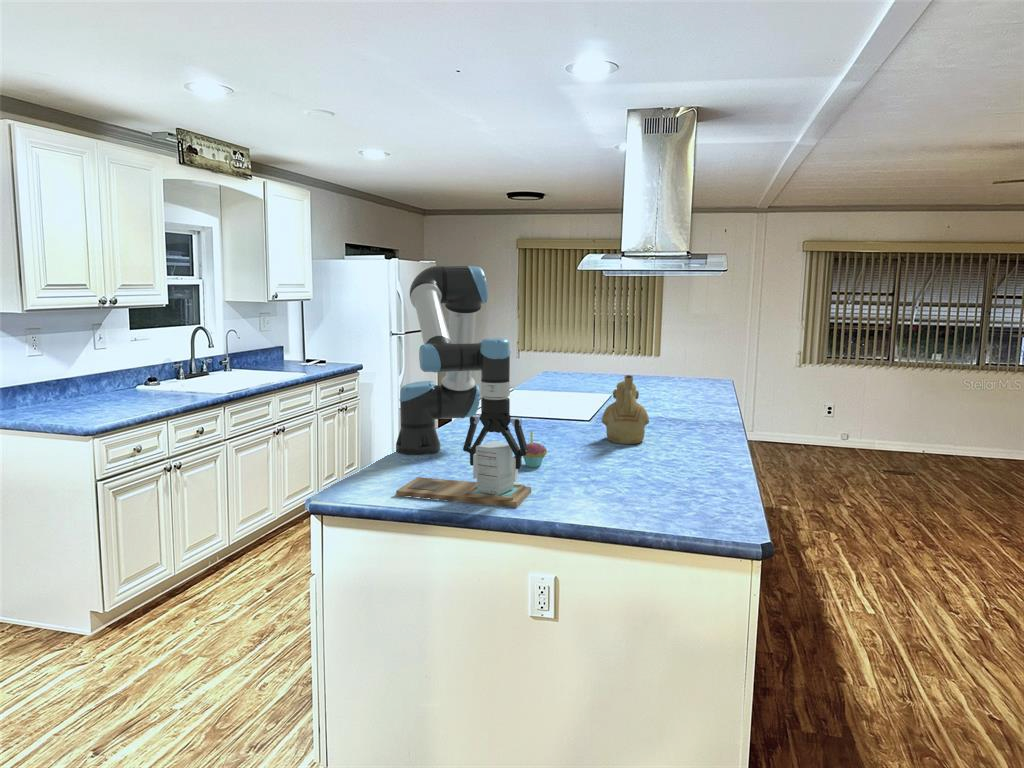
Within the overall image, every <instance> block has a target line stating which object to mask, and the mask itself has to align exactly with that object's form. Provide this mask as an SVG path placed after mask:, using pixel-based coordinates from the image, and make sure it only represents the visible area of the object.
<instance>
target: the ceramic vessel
mask: <svg viewBox="0 0 1024 768" xmlns="http://www.w3.org/2000/svg"><path fill="white" fill-rule="evenodd" d="M633 381H634V376H633V375H630V374H627V375H624V380H621V381H619V383H617V384H616V386H615V387H616V389H613V391H612V396H613V399H615V401H614V402H613V403H611V404H609V405H608V406H607V407H606V408H605V410H604V412H603V413H602V416H601V423H602V424H603V425H605V429H606V437H607V439H608V440H609V442H612V443H614V444H621V445H634V444H635V445H637V444H640V443H641V442H643V440H644V439H645V433H646V431H645V430H646V429H645V427H646V426H647V425H649V423H650V420H649V415H648V413H647V412H648V411H647V410H646V408H645V407H644V406H643V405H641V404H640V403H638V402H637V400H638V399H639V396H640V393H639V390H637V386H636V384H635V383H634V382H633Z"/></svg>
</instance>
